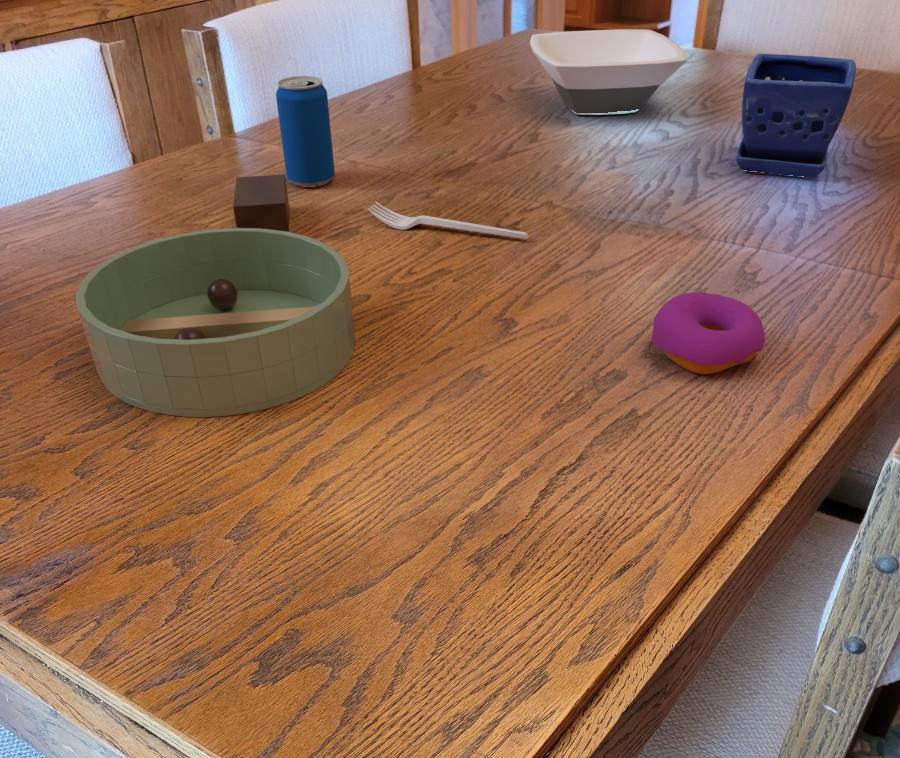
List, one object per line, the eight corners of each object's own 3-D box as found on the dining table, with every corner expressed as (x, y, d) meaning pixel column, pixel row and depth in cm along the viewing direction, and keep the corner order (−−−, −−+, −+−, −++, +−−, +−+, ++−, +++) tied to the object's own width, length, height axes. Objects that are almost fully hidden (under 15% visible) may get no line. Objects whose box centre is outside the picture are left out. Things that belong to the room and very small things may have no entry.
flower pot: (829, 186, 117) (856, 84, 109) (725, 176, 121) (744, 76, 112) (832, 154, 126) (857, 58, 118) (735, 146, 130) (753, 51, 121)
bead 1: (190, 363, 86) (216, 349, 85) (181, 368, 83) (208, 354, 83) (172, 334, 85) (199, 319, 84) (163, 338, 82) (190, 323, 81)
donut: (691, 390, 81) (700, 343, 78) (627, 342, 87) (632, 297, 84) (781, 363, 84) (793, 317, 81) (712, 319, 91) (721, 275, 88)
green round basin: (78, 428, 78) (52, 354, 73) (116, 302, 95) (98, 236, 91) (362, 404, 80) (356, 331, 75) (348, 286, 98) (342, 220, 93)
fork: (523, 246, 105) (523, 230, 103) (367, 225, 110) (365, 209, 109) (531, 236, 107) (532, 219, 106) (378, 215, 112) (376, 200, 111)
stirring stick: (129, 355, 85) (122, 331, 84) (132, 343, 87) (126, 320, 85) (320, 340, 87) (317, 317, 85) (319, 329, 89) (316, 306, 87)
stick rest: (239, 240, 107) (232, 206, 104) (241, 210, 114) (236, 177, 112) (289, 237, 108) (285, 203, 105) (289, 207, 115) (285, 174, 112)
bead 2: (205, 273, 90) (210, 282, 92) (204, 304, 90) (209, 312, 93) (236, 276, 90) (239, 285, 93) (235, 306, 90) (238, 314, 93)
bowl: (519, 90, 152) (521, 32, 146) (651, 84, 154) (658, 27, 148) (543, 130, 136) (546, 67, 131) (690, 123, 138) (699, 60, 132)
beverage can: (344, 183, 121) (335, 83, 113) (301, 193, 118) (288, 91, 110) (321, 170, 125) (310, 72, 117) (279, 179, 122) (265, 80, 114)
